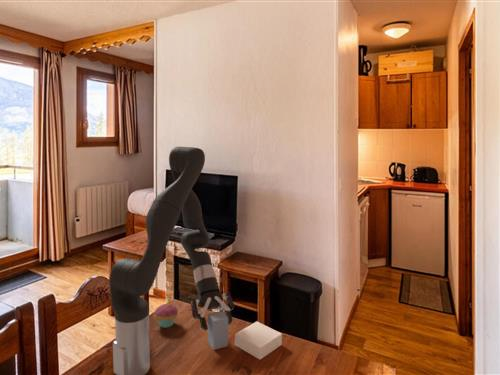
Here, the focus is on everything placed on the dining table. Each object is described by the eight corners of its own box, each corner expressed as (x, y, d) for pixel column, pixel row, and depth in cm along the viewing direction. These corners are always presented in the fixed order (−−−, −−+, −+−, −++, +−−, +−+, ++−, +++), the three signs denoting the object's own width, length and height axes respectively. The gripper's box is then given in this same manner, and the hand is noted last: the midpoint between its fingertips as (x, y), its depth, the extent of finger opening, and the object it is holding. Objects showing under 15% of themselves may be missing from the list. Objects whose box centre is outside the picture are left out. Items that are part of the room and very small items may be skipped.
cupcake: (164, 316, 133) (164, 286, 131) (183, 321, 129) (183, 291, 127) (149, 326, 125) (148, 295, 123) (168, 333, 122) (167, 300, 120)
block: (213, 349, 113) (213, 321, 112) (207, 341, 117) (208, 313, 116) (227, 345, 115) (228, 317, 114) (221, 338, 120) (222, 310, 118)
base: (259, 359, 109) (260, 347, 108) (234, 344, 116) (235, 333, 115) (281, 344, 117) (281, 333, 116) (256, 331, 124) (256, 321, 123)
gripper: (188, 279, 118) (200, 328, 109) (227, 273, 124) (241, 318, 116) (184, 288, 123) (194, 335, 115) (221, 281, 130) (234, 325, 121)
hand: (218, 326), depth 115 cm, fingers open, 8 cm apart
